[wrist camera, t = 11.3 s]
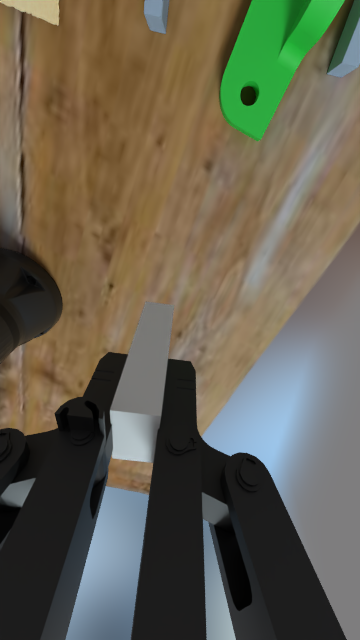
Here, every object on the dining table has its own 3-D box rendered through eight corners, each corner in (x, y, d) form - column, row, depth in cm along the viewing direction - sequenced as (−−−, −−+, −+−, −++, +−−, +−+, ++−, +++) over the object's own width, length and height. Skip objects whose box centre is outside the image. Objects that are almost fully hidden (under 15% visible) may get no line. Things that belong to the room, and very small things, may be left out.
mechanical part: (277, -64, 19) (318, -184, 13) (336, -19, 20) (403, -109, 14) (209, 113, 26) (212, 95, 19) (256, 141, 27) (276, 133, 20)
